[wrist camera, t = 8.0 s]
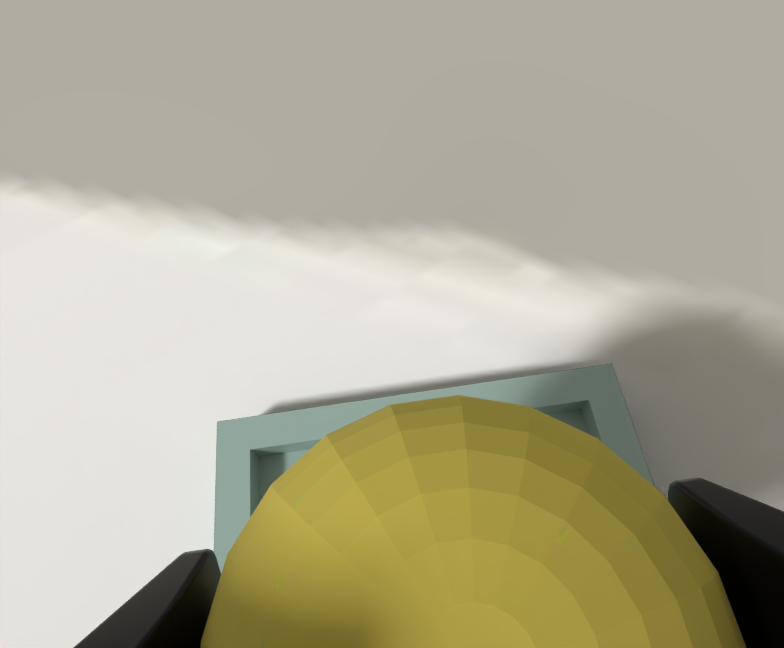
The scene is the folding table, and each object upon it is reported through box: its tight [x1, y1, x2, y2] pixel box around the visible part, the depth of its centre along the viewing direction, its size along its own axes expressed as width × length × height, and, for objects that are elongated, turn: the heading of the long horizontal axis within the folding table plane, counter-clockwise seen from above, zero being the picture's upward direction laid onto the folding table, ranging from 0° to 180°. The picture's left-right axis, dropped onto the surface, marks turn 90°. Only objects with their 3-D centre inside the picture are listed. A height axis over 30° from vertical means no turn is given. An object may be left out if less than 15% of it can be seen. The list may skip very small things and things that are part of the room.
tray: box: [214, 364, 655, 573], centre depth 14 cm, size 12×12×2 cm
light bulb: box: [200, 395, 746, 648], centre depth 9 cm, size 7×7×10 cm
